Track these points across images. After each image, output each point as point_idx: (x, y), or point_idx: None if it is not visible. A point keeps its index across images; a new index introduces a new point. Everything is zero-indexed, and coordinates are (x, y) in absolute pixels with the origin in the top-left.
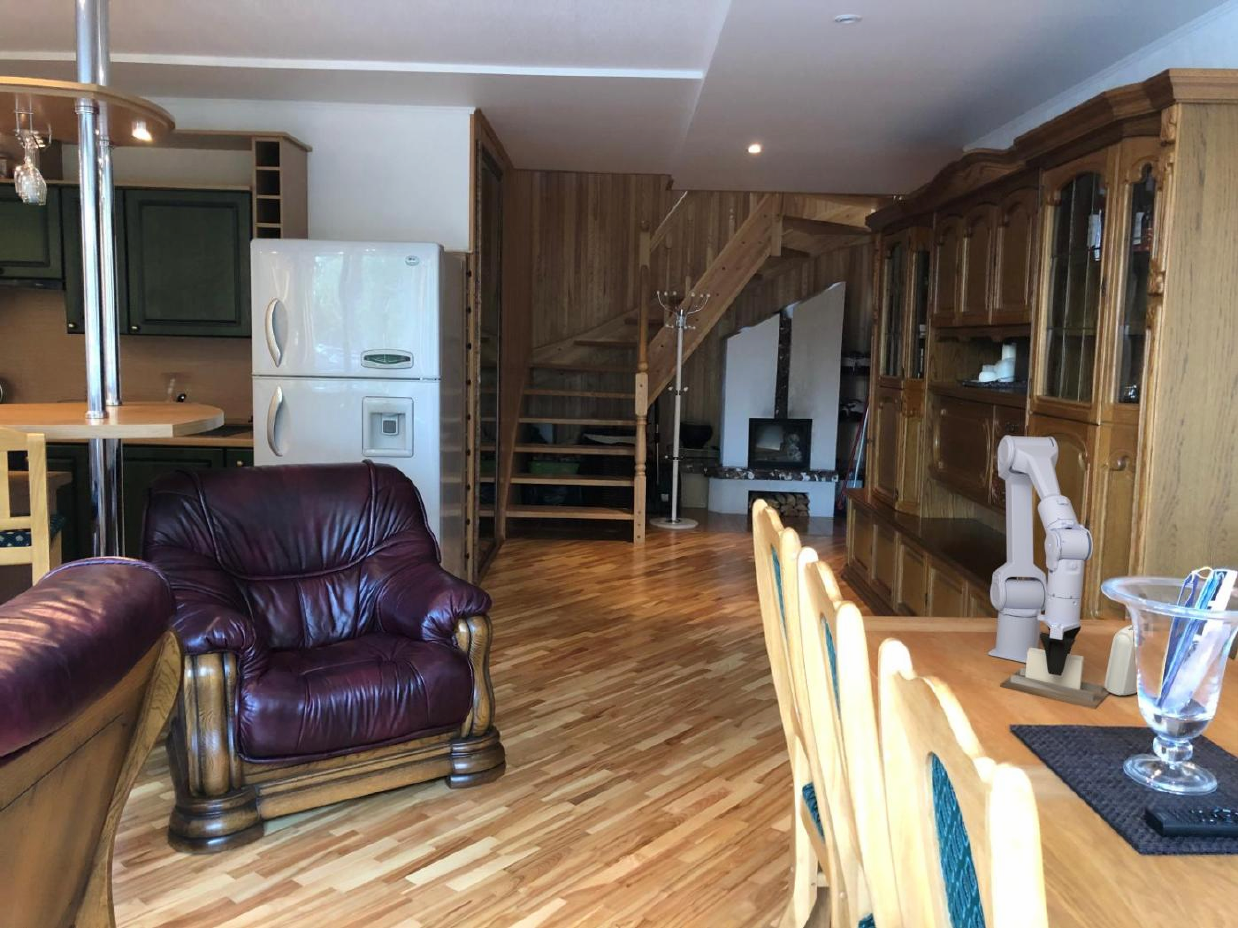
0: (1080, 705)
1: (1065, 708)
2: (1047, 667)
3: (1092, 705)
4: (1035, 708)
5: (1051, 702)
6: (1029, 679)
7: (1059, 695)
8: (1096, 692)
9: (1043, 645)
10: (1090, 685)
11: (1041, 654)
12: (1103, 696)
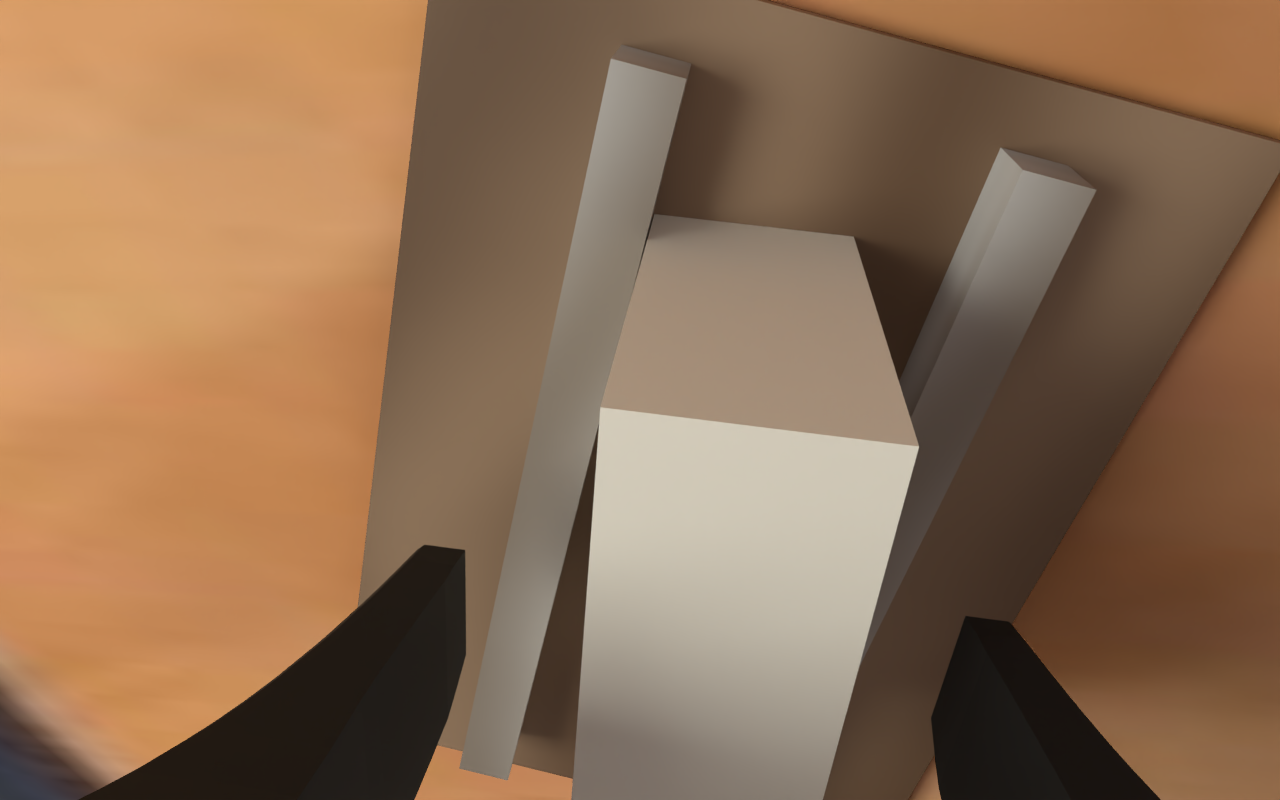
0: None
1: (205, 534)
2: (392, 578)
3: None
4: (3, 316)
5: (278, 442)
6: (570, 287)
7: (451, 516)
8: None
9: (83, 798)
10: None
11: (591, 590)
12: None
